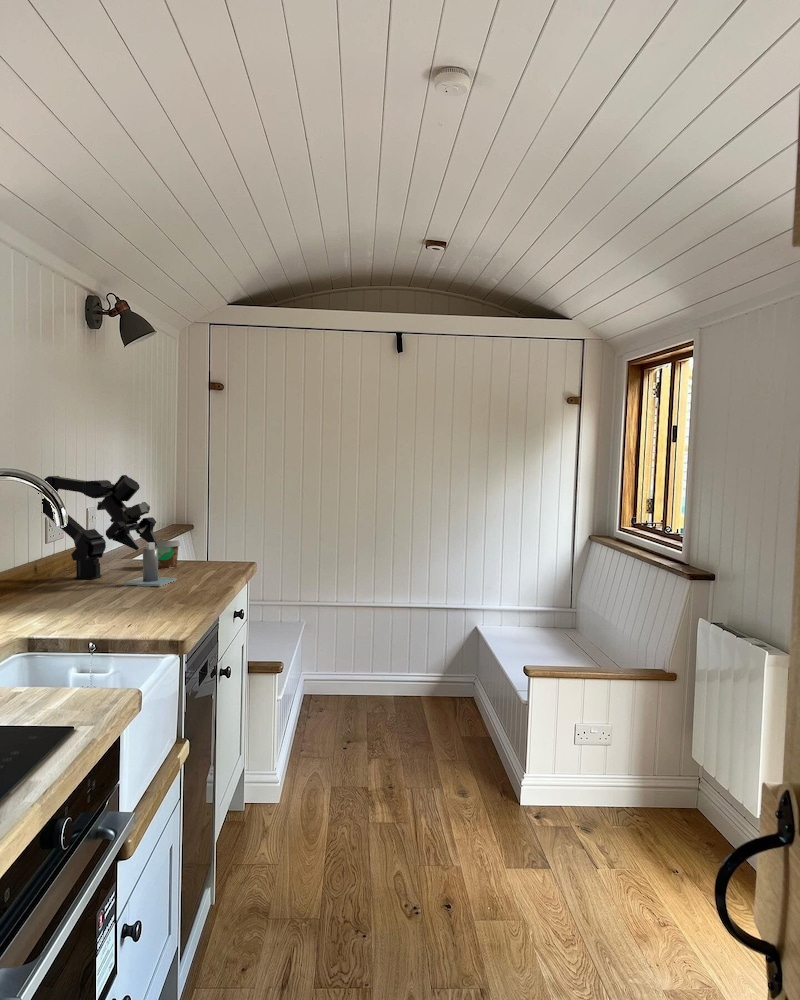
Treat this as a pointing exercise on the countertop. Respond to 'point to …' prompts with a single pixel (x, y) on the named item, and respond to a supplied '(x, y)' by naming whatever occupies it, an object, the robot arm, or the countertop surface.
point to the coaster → (140, 582)
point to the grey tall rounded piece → (150, 563)
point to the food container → (167, 553)
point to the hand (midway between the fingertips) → (147, 547)
